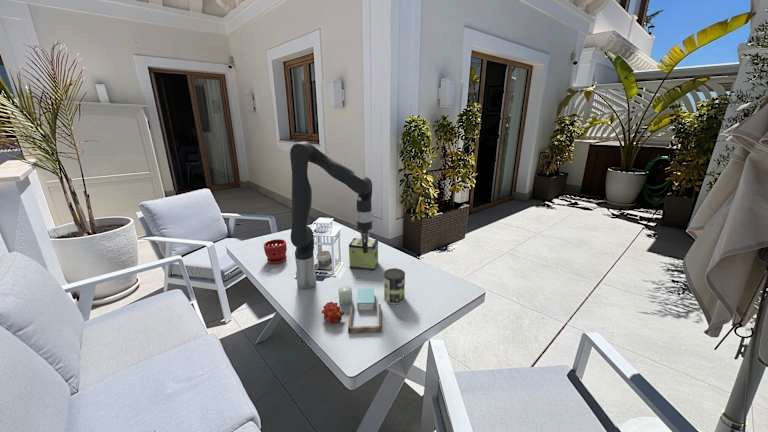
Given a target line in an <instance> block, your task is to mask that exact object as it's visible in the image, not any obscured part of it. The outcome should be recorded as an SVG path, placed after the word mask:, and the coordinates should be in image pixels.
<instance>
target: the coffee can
mask: <svg viewBox="0 0 768 432" xmlns="http://www.w3.org/2000/svg"><path fill="white" fill-rule="evenodd" d="M405 276H406V272H405V271H404V270H402V269H400V268H388V269H386V270H385V271H384V272H383V282H384V283H383V292H384V293H383V294H384V295H383V299H384V301H385V303H388V304H390V305H399V304H402V303H403V302H404V301H405V289H406V288H405V286H406V285H405V284H406V282H405V281H406V280H405V279H406V277H405Z"/></svg>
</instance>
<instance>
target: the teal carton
mask: <svg viewBox="0 0 768 432" xmlns="http://www.w3.org/2000/svg"><path fill="white" fill-rule="evenodd" d="M356 301H357V302H356V305H357V306H356V307H357V308H356V309H357V311H375V287H358V288H357V300H356Z"/></svg>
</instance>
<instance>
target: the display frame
mask: <svg viewBox="0 0 768 432" xmlns="http://www.w3.org/2000/svg"><path fill="white" fill-rule="evenodd" d="M377 306H378V307H377V309H378V325H371V326H370V325H364V326H362V325H361V326H352V323H353V316H354V315H353V313H354V304H350V309H349V316H348V324H347V333H348V334H366V333H368V334H369V333H372V334H373V333H382V310H381V309H382V306H381V303H378V305H377Z"/></svg>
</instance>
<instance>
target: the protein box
mask: <svg viewBox="0 0 768 432" xmlns="http://www.w3.org/2000/svg"><path fill="white" fill-rule="evenodd" d="M348 258H349V269H355V270H366V271H375V270H376V268H377V266H378V264H379V240H378V239H375V238H374V239H372V238H369V241H368V253H363V247H362V242H361V237H360V238H359V237H354V238H353V239H352V240H351V242H349V244H348Z"/></svg>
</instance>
